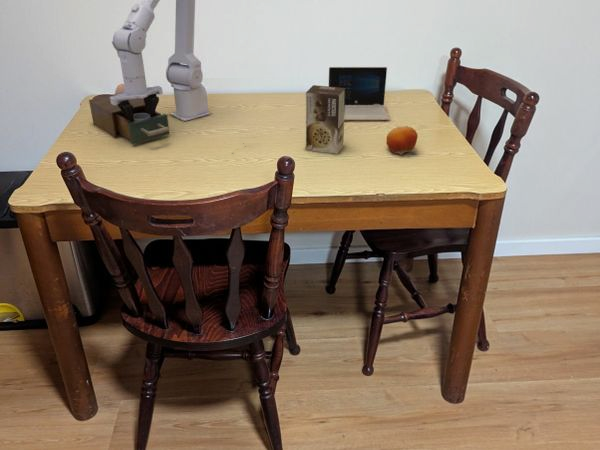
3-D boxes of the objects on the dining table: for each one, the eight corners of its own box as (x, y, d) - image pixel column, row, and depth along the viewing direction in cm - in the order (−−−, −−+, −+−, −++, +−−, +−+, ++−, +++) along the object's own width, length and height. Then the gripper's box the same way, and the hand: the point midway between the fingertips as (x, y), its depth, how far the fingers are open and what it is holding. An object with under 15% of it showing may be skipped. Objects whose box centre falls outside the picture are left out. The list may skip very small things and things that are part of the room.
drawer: (178, 139, 154) (176, 119, 151) (142, 150, 148) (139, 129, 145) (146, 121, 166) (143, 102, 163) (110, 130, 159) (107, 111, 156)
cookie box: (343, 145, 153) (346, 87, 145) (337, 154, 148) (340, 95, 139) (312, 141, 155) (313, 84, 147) (304, 150, 150) (305, 91, 142)
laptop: (330, 121, 169) (331, 78, 162) (327, 107, 179) (328, 66, 173) (389, 121, 169) (393, 78, 162) (383, 107, 180) (387, 66, 173)
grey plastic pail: (146, 124, 160) (144, 111, 158) (155, 129, 156) (153, 116, 154) (129, 128, 157) (126, 115, 155) (138, 134, 153) (136, 121, 151)
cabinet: (155, 127, 164) (151, 102, 160) (115, 138, 157) (111, 112, 153) (131, 114, 173) (128, 91, 169) (93, 124, 166) (88, 99, 162)
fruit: (402, 156, 143) (395, 126, 143) (385, 161, 150) (379, 132, 150) (427, 150, 146) (420, 121, 146) (410, 155, 154) (403, 127, 153)
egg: (113, 105, 180) (109, 84, 177) (125, 101, 184) (122, 80, 180) (124, 108, 178) (121, 87, 174) (136, 103, 182) (133, 83, 178)
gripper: (115, 84, 142) (124, 134, 149) (165, 73, 150) (171, 121, 157) (103, 78, 147) (112, 127, 154) (152, 68, 155) (158, 115, 162)
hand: (141, 124), depth 156 cm, fingers closed on grey plastic pail, 5 cm apart
